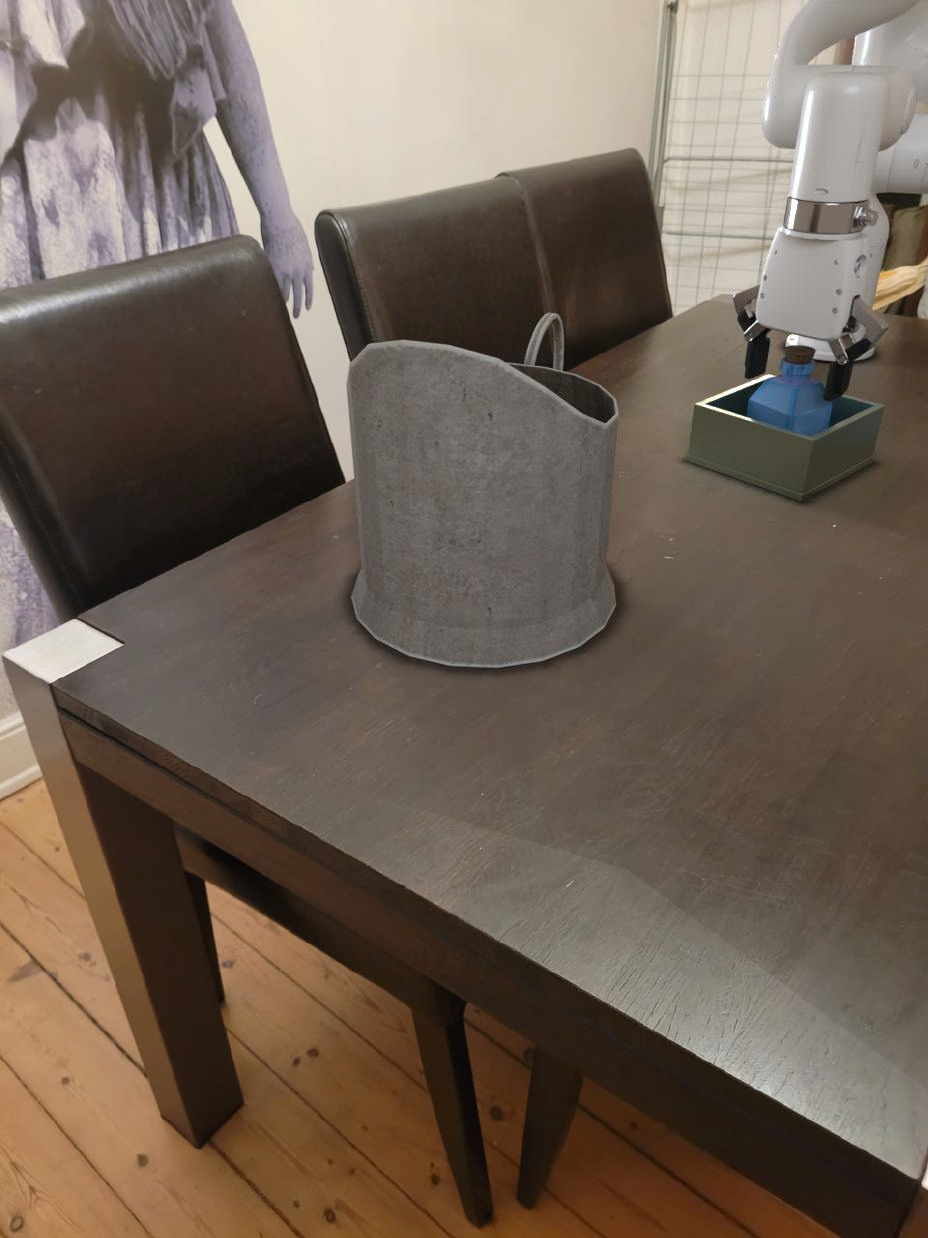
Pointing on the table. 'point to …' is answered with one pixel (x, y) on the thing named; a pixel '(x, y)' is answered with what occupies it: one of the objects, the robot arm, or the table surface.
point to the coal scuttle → (480, 502)
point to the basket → (782, 443)
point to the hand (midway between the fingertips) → (792, 386)
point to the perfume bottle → (793, 395)
